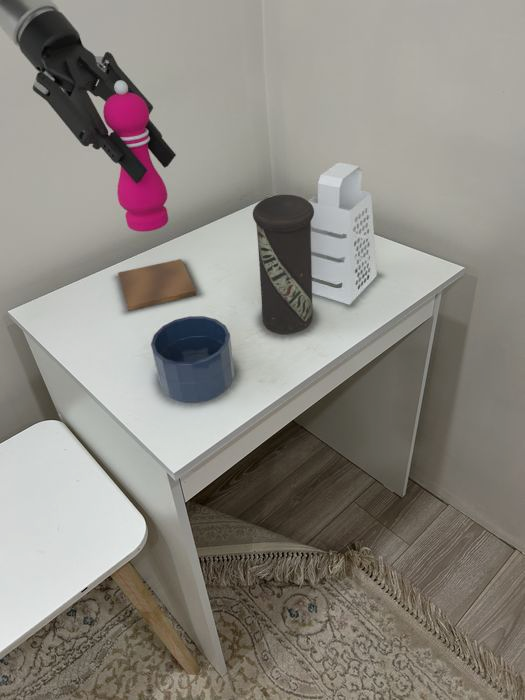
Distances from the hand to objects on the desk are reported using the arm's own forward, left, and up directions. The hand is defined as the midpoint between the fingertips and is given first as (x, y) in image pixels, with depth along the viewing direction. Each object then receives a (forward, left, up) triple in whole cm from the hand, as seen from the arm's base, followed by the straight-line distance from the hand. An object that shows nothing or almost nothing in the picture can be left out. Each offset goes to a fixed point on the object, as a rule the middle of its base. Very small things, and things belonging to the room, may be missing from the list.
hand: (156, 168), depth 76 cm
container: (+15, -9, -25) cm, 30 cm away
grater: (+27, -2, -25) cm, 37 cm away
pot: (-2, -17, -25) cm, 30 cm away
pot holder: (-3, +10, -25) cm, 27 cm away
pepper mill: (-2, +3, -9) cm, 10 cm away
